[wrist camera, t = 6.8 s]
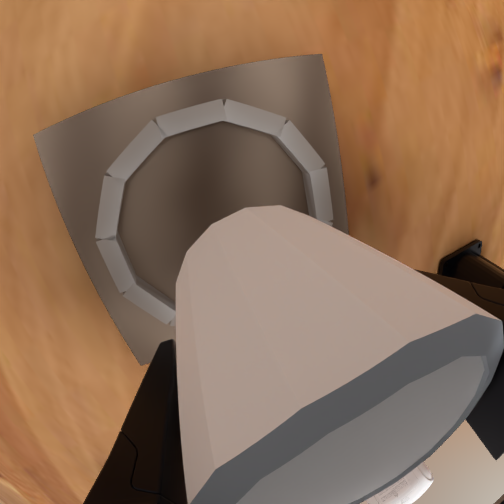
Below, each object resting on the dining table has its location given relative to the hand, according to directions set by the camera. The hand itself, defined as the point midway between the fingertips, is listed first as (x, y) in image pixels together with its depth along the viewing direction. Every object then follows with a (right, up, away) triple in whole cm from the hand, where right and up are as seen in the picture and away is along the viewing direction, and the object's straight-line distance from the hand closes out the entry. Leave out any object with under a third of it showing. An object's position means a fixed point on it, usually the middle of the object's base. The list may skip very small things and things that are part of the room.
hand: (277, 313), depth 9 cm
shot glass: (-1, +1, +1) cm, 2 cm away
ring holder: (-3, +4, +8) cm, 9 cm away
